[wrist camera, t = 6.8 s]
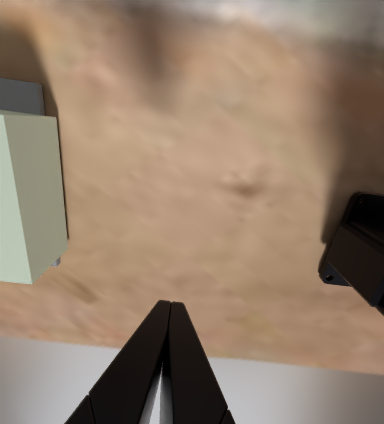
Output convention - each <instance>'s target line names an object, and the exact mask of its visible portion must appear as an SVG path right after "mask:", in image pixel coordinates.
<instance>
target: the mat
mask: <svg viewBox="0 0 384 424" xmlns="http://www.w3.org/2000/svg"><path fill="white" fill-rule="evenodd" d="M0 110H6V111H13V112H21V113H28V114H36V115H43V116H45V111H44V101H43V91H42V84H38V83H33V82H26V81H19V80H12V79H5V78H0ZM59 264H60V258H58V259H57V260H56V261H55V262H54V263H53V264H52V265H51V266H58V265H59Z"/></svg>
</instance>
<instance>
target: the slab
mask: <svg viewBox="0 0 384 424" xmlns="http://www.w3.org/2000/svg"><path fill="white" fill-rule="evenodd" d="M67 249H68V242H67V231H66V220H65V209H64V198H63V187H62V175H61V164H60V153H59V142H58V131H57V120H56V117H51V116H43V115H36V114H28V113H21V112H13V111H6V110H0V281H6V282H15V283H25V284H33V283H34V282H35V281H36V280H37V279H38V278H39V277H40V276H41V275H42V274H43V273H44V272H45V271H46V270H47V269H48V268H49V267H50V266H51V265H52V264H53V263H54V262H55V261H56V260H57V259H58V258H59V257H60V256H61V255H62V254H63V253H64V252H65V251H66V250H67Z"/></svg>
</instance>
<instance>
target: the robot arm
mask: <svg viewBox="0 0 384 424" xmlns="http://www.w3.org/2000/svg"><path fill="white" fill-rule="evenodd" d="M362 198H363V200H362V202H361V203H359V201H360V199H362ZM328 275H330V276H328ZM327 276H328V277H327ZM319 277H320V279H321V280H322V281H323V282H324V283H326V284H332V285H341V286H350V287H353V289H354V290H355V291H356V292H357V293H358V294H359V295H360V296H361V297H362V298H363V299H364V300H365V301H366V302H367V303H368V304H369V305H370V306H372V307H375V308H376V309H377V310H378V311H379V312H380V313H381V314H382V315H383V316H384V194H376V193H369V192H357V193H355V194H354V195H353V196H352V197H351V199H350V201H349V204H348V206H347V209H346V211H345V213H344V216H343V218H342V221H341V223H340V225H339V227H338V230H337V232H336V235H335V237H334V239H333V242H332V244H331V247H330V249H329V252H328V254H327V256H326V259H325V262H324V264H323V266H322V269H321V271H320V274H319ZM162 364H163V365H162ZM161 370H162V373H161ZM160 376H161V395H160V424H235V421H234V419H233V417H232V414H231V412H230V410H227V409H228V406H227V403H226V401H225V399H224V396H223V394H222V391H221V389H220V387H219V384H218V382H217V380H216V377H215V375H214V373H213V370H212V368H211V366H210V364H209V361H208V359H207V356H206V354H205V352H204V349H203V347H202V345H201V342H200V340H199V338H198V335H197V333H196V331H195V328H194V326H193V324H192V321H191V319H190V317H189V314H188V312H187V310H186V307H185V305H184V303H182V302H174V301H173V302H172V303H171V302H170V301H166V300H159V301H158V302H157V303H156V305H155V306H154V307H153V309H152V310H151V311H150V313H149V314H148V315H147V316H146V318H145V319H144V320H143V322H142V323H141V324H140V326H139V327H138V328H137V330H136V331H135V332H134V334H133V335H132V336H131V337H130V339H129V340H128V341H127V343H126V344H125V345H124V347H123V348H122V349H121V351H120V352H119V353H118V355H117V356H116V357H115V359H114V360H113V361H112V362H111V364H110V365H109V366H108V368H107V369H106V370H105V372H104V373H103V374H102V376H101V377H100V378H99V380H98V381H97V382H96V384H95V385H94V386H93V388H92V389H91V390H90V391H89V395H86V396H85V398H84V399H83V400H82V402H81V403H80V404H79V406H78V407H77V408H76V409H75V411H74V412H73V413H72V415H71V416H70V417H69V418H68V420H67V421H66V422H65V423H64V424H149V422H150V417H151V413H152V409H153V405H154V401H155V397H156V393H157V389H158V385H159V380H160Z"/></svg>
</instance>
